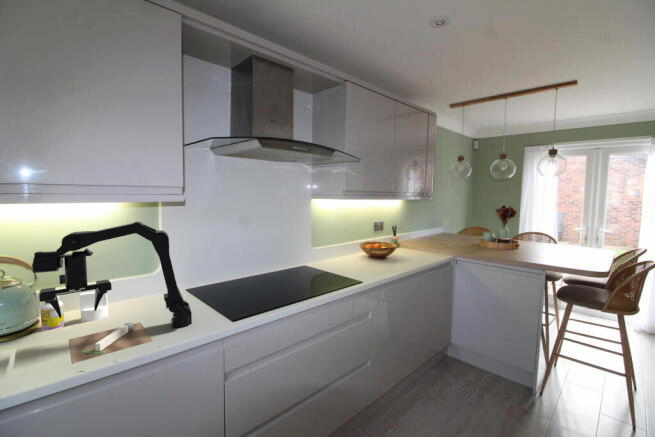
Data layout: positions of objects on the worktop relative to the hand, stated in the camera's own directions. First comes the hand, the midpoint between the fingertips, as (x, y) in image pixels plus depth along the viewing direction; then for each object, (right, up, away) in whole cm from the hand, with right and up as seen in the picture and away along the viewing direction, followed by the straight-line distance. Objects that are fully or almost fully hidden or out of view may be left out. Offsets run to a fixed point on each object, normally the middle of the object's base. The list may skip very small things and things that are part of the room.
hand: (78, 314), depth 104 cm
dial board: (+9, -12, +4) cm, 15 cm away
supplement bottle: (-22, -11, +15) cm, 28 cm away
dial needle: (+10, -10, +4) cm, 15 cm away
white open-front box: (-12, -10, +23) cm, 27 cm away
